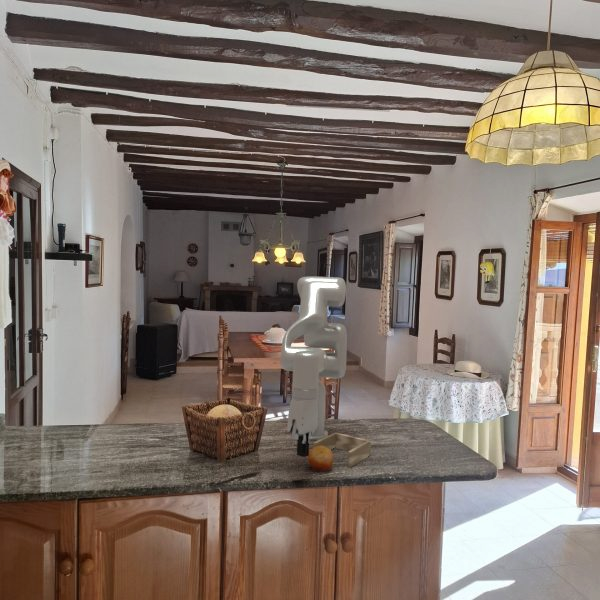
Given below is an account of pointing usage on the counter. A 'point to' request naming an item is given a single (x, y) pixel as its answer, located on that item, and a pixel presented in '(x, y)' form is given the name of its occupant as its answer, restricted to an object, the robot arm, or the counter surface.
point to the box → (347, 446)
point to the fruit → (320, 458)
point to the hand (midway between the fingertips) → (302, 455)
